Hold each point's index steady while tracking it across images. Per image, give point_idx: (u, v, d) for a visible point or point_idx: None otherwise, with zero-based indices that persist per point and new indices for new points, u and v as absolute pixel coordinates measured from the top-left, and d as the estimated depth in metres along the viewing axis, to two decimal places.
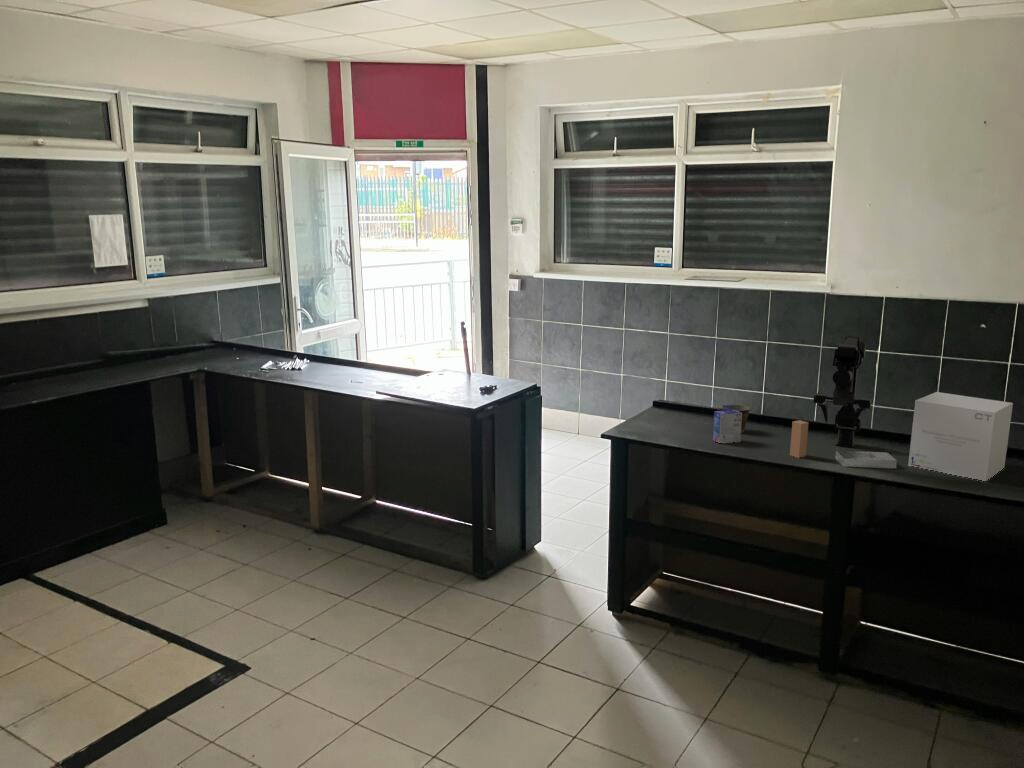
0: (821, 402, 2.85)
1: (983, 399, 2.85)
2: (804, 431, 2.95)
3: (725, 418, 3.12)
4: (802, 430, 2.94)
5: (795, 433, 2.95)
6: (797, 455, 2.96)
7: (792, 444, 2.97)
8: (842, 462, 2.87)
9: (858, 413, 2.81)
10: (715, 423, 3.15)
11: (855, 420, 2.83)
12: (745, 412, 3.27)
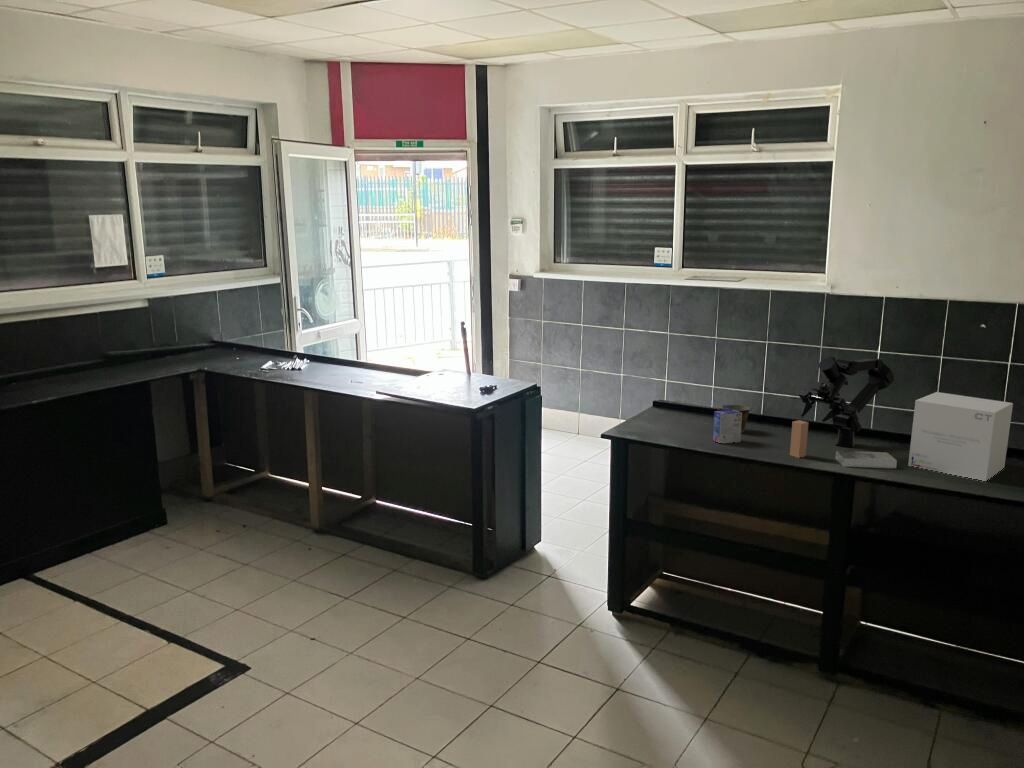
0: (804, 394, 3.05)
1: (983, 399, 2.85)
2: (804, 431, 2.95)
3: (725, 418, 3.12)
4: (802, 430, 2.94)
5: (795, 433, 2.95)
6: (797, 455, 2.96)
7: (792, 444, 2.97)
8: (842, 462, 2.87)
9: (830, 409, 2.95)
10: (715, 423, 3.15)
11: (825, 415, 2.95)
12: (745, 412, 3.27)
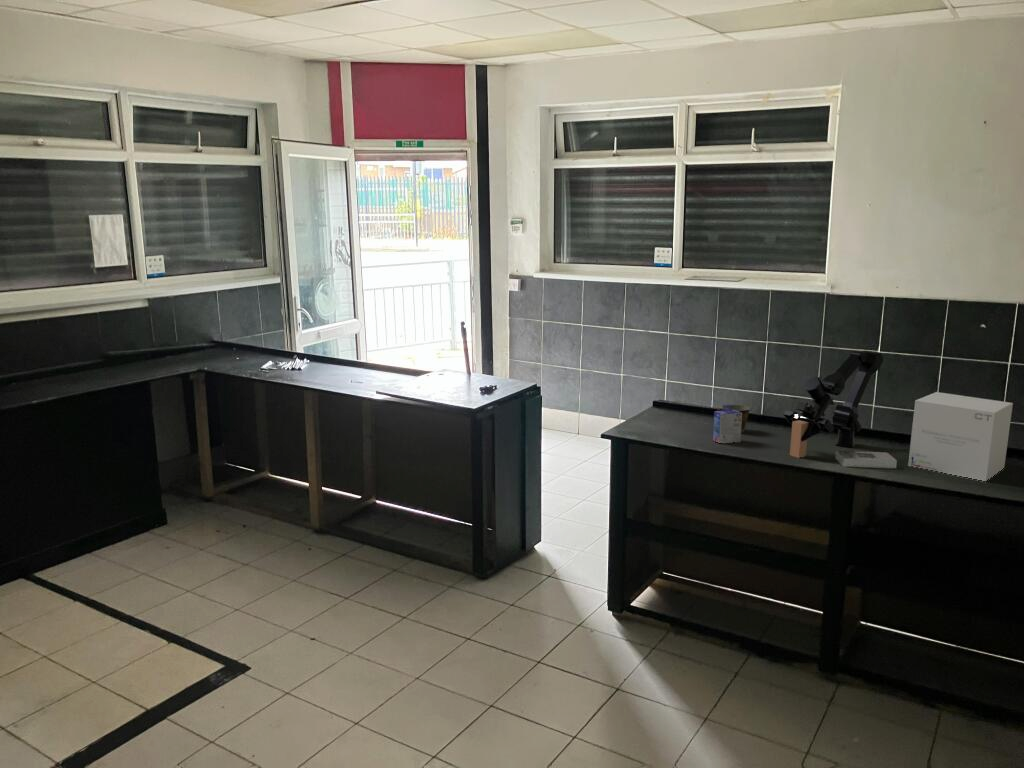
0: (789, 414, 3.02)
1: (983, 399, 2.85)
2: (804, 431, 2.95)
3: (725, 418, 3.12)
4: (802, 430, 2.94)
5: (795, 433, 2.95)
6: (797, 455, 2.96)
7: (792, 444, 2.97)
8: (842, 462, 2.87)
9: (809, 428, 2.94)
10: (715, 423, 3.15)
11: (804, 434, 2.94)
12: (745, 412, 3.27)
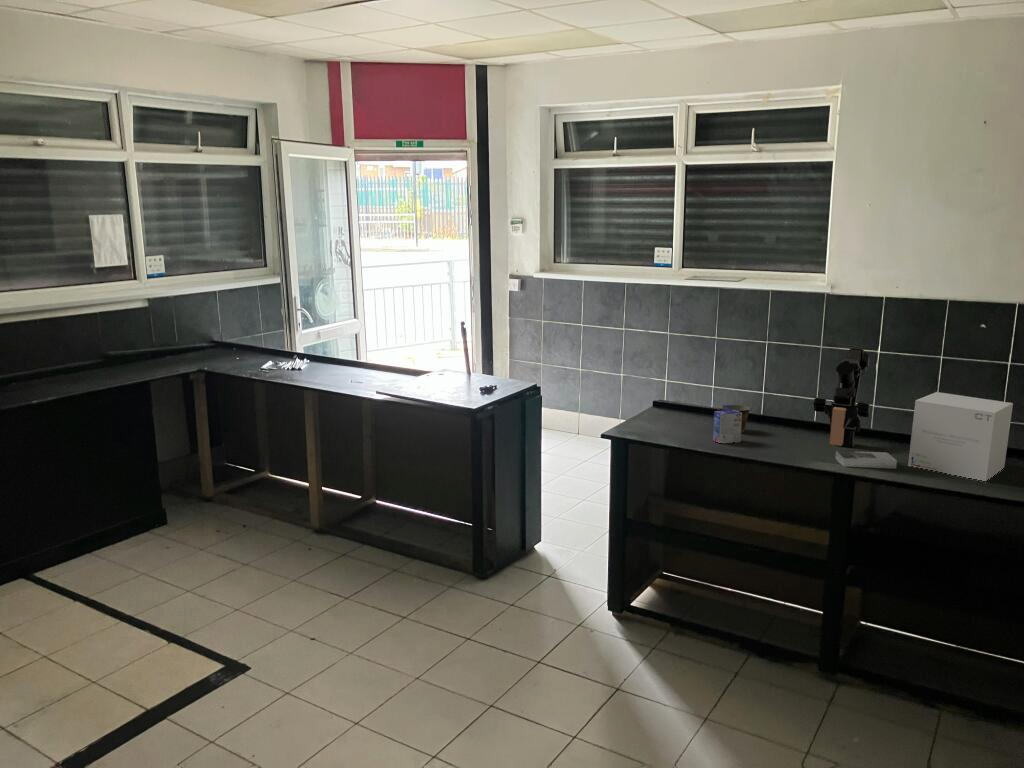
0: (821, 401, 2.92)
1: (983, 399, 2.85)
2: (844, 418, 2.87)
3: (725, 418, 3.12)
4: (844, 417, 2.86)
5: (837, 420, 2.86)
6: (839, 443, 2.87)
7: (833, 432, 2.88)
8: (842, 462, 2.87)
9: (849, 414, 2.87)
10: (715, 423, 3.15)
11: (846, 421, 2.86)
12: (745, 412, 3.27)
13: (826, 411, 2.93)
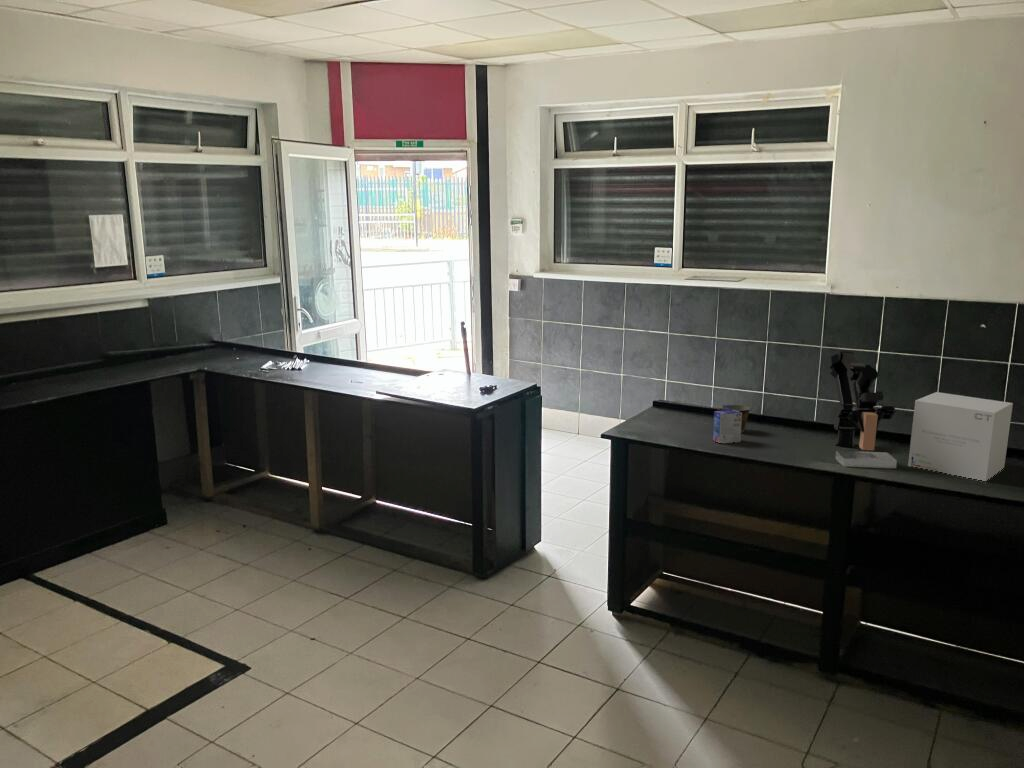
0: (849, 408, 2.88)
1: (983, 399, 2.85)
2: None
3: (725, 418, 3.12)
4: None
5: (870, 425, 2.85)
6: (872, 448, 2.86)
7: (866, 438, 2.86)
8: (842, 462, 2.87)
9: (878, 418, 2.87)
10: (715, 423, 3.15)
11: None
12: (745, 412, 3.27)
13: (852, 417, 2.90)
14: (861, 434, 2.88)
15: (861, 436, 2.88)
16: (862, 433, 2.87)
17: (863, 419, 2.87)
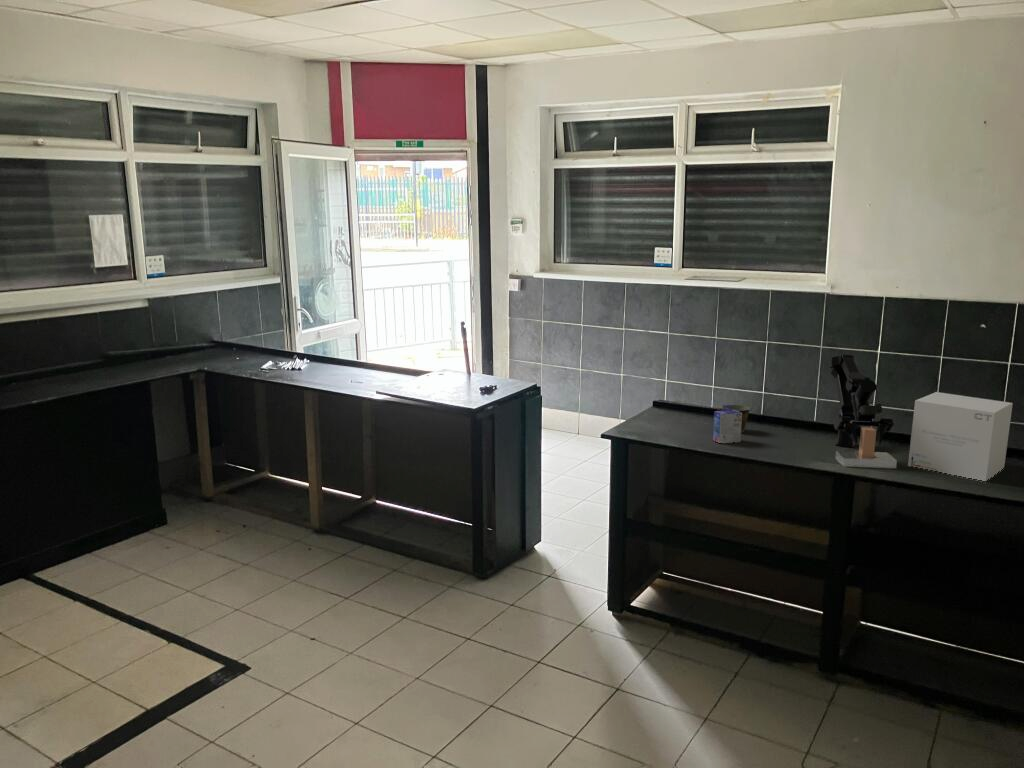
0: (848, 420, 2.89)
1: (983, 399, 2.85)
2: None
3: (725, 418, 3.12)
4: None
5: (869, 440, 2.86)
6: None
7: (864, 453, 2.87)
8: (842, 462, 2.87)
9: (882, 430, 2.87)
10: (715, 423, 3.15)
11: (880, 438, 2.87)
12: (745, 412, 3.27)
13: (845, 429, 2.92)
14: (860, 449, 2.89)
15: (860, 451, 2.89)
16: (861, 448, 2.88)
17: (862, 434, 2.88)
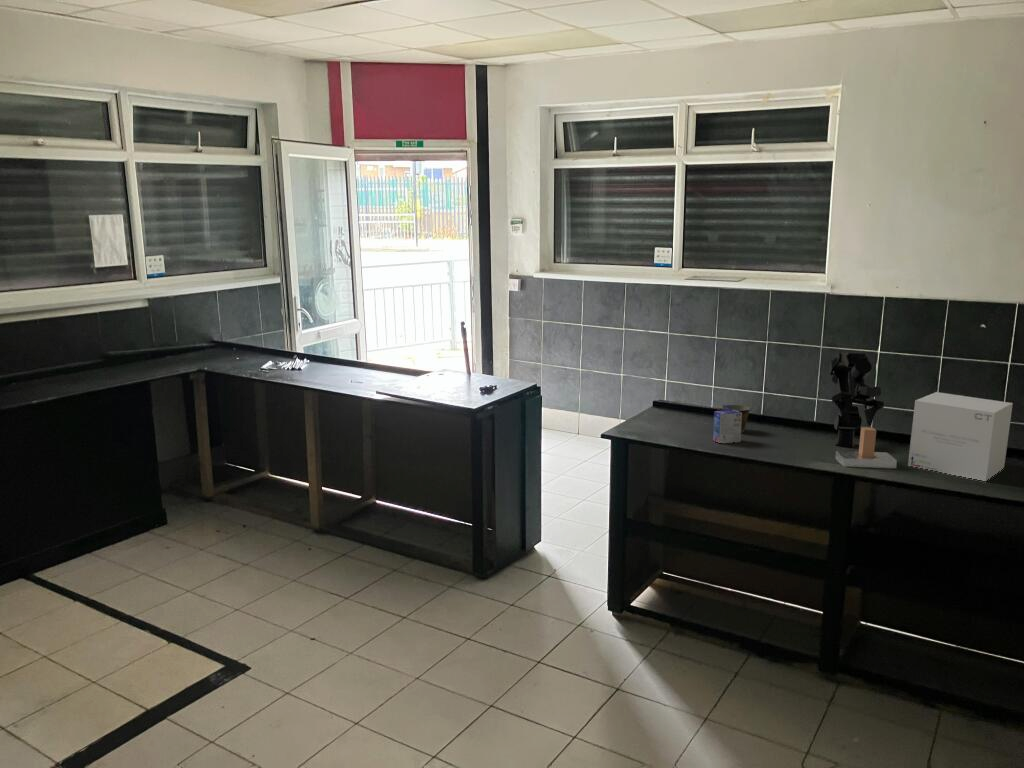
0: (848, 397, 2.92)
1: (983, 399, 2.85)
2: None
3: (725, 418, 3.12)
4: None
5: (869, 440, 2.86)
6: None
7: (864, 453, 2.87)
8: (842, 462, 2.87)
9: (874, 412, 2.96)
10: (715, 423, 3.15)
11: (872, 419, 2.95)
12: (745, 412, 3.27)
13: (839, 403, 2.95)
14: (860, 449, 2.89)
15: (860, 451, 2.89)
16: (861, 448, 2.88)
17: (862, 434, 2.88)
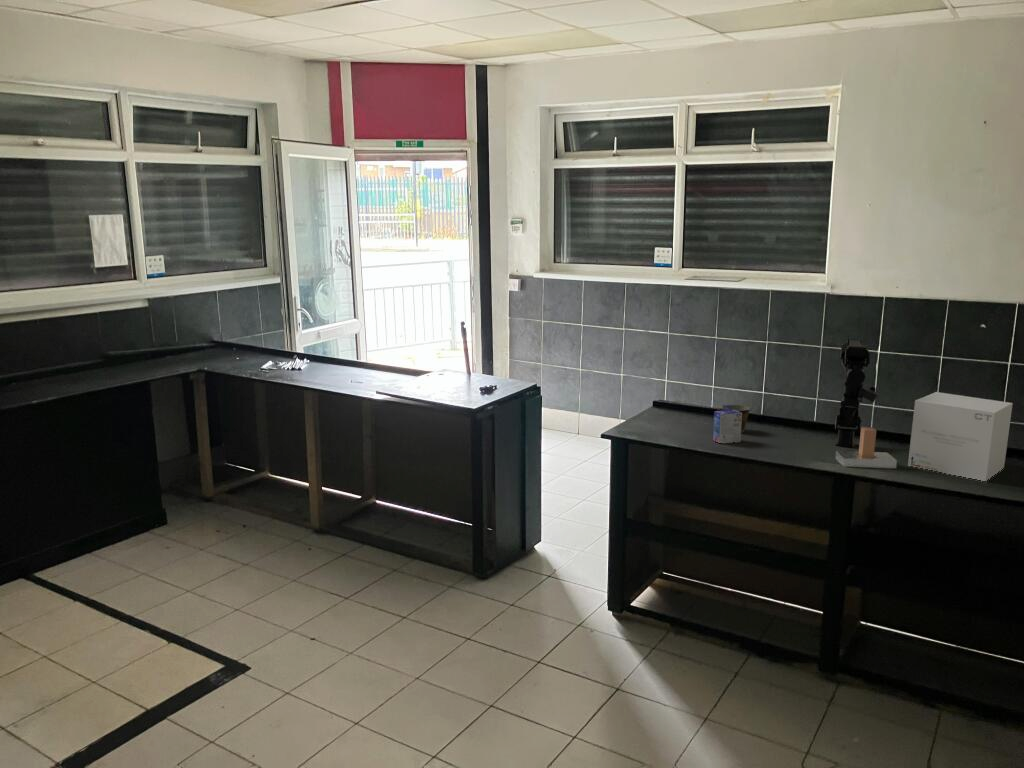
0: (859, 404, 2.89)
1: (983, 399, 2.85)
2: None
3: (725, 418, 3.12)
4: None
5: (869, 440, 2.86)
6: None
7: (864, 453, 2.87)
8: (842, 462, 2.87)
9: None
10: (715, 423, 3.15)
11: (854, 412, 3.01)
12: (745, 412, 3.27)
13: None
14: (860, 449, 2.89)
15: (860, 451, 2.89)
16: (861, 448, 2.88)
17: (862, 434, 2.88)
